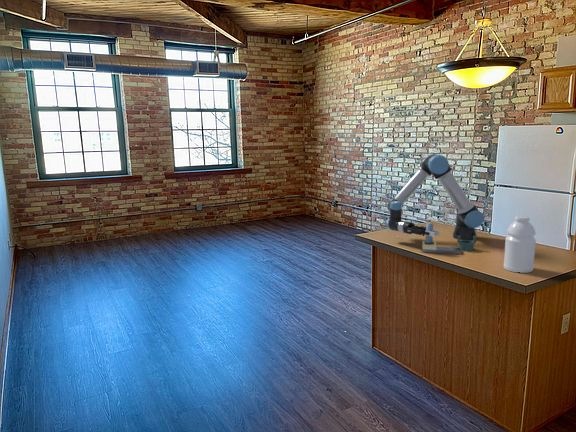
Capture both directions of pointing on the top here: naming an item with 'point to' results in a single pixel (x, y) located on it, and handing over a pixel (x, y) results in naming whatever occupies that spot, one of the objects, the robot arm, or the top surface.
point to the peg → (429, 228)
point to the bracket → (466, 244)
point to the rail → (439, 249)
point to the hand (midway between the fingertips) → (436, 234)
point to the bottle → (520, 246)
